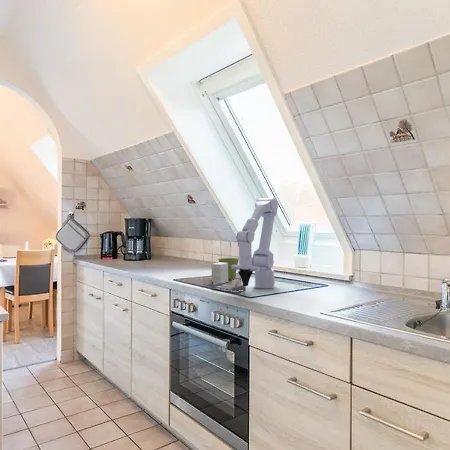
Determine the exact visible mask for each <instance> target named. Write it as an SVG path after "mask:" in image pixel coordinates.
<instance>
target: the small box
mask: <svg viewBox="0 0 450 450" xmlns="http://www.w3.org/2000/svg"><path fill="white" fill-rule="evenodd" d="M212 282H213V283H219V282H223V283H224V282H228V283H229V280H228V263H222V262H219V261H218V262H215V263H211V283H212Z"/></svg>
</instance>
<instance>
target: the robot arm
mask: <svg viewBox="0 0 450 450" xmlns="http://www.w3.org/2000/svg"><path fill="white" fill-rule="evenodd" d="M278 207H279V203H278V201H277V199H276V198H275V197H265V198H264V197H263V198H262V197H258V198H257V199H255V203H254V210H253V213H252V215H251V217H250V218H248V219H246V222H245V223H244V226H243V227H242V229H241V230H239V231H237V234H236V238H235V239H236V242H237V246H238V259H239V260H238V264H237V265H232V269H237V273H238V275H239V277H240V279H241V282H242V285H243V286H244V287H248V286H249V282H250V278H251V277H252V274H253V273H254V280H255V281H254V286H253V287H252V288H253V289H274V287H275V269H272V268H273V266H274V254H273V253H272V251H271V250H270V246H271V240H272V234H273V228H274V221H275V217H276V216H277V213H278ZM261 217H262V218H263V221H262V226H261V232H260V238H259V239H260V240H259V245H258V249H256V250H255V251H252V243H253V242H254V239H255V235H256V234H255V233H256V230H257V229H258V226H259V222H258V221H260V219H261ZM252 252H253V255H252Z"/></svg>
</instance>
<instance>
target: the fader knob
mask: <svg viewBox="0 0 450 450" xmlns="http://www.w3.org/2000/svg"><path fill="white" fill-rule="evenodd" d="M231 285H232V288H235V286H239V285H240V280H239V279H238V278H235V279H234V280H231Z"/></svg>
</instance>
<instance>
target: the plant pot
mask: <svg viewBox="0 0 450 450" xmlns="http://www.w3.org/2000/svg"><path fill="white" fill-rule="evenodd" d="M217 260H218V262H222V263H228V281H232V280H233V279H234V280H235V279H237V272H238V270H237V269H232V265H239V257H237V258H236V257H222V258H217Z"/></svg>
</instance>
